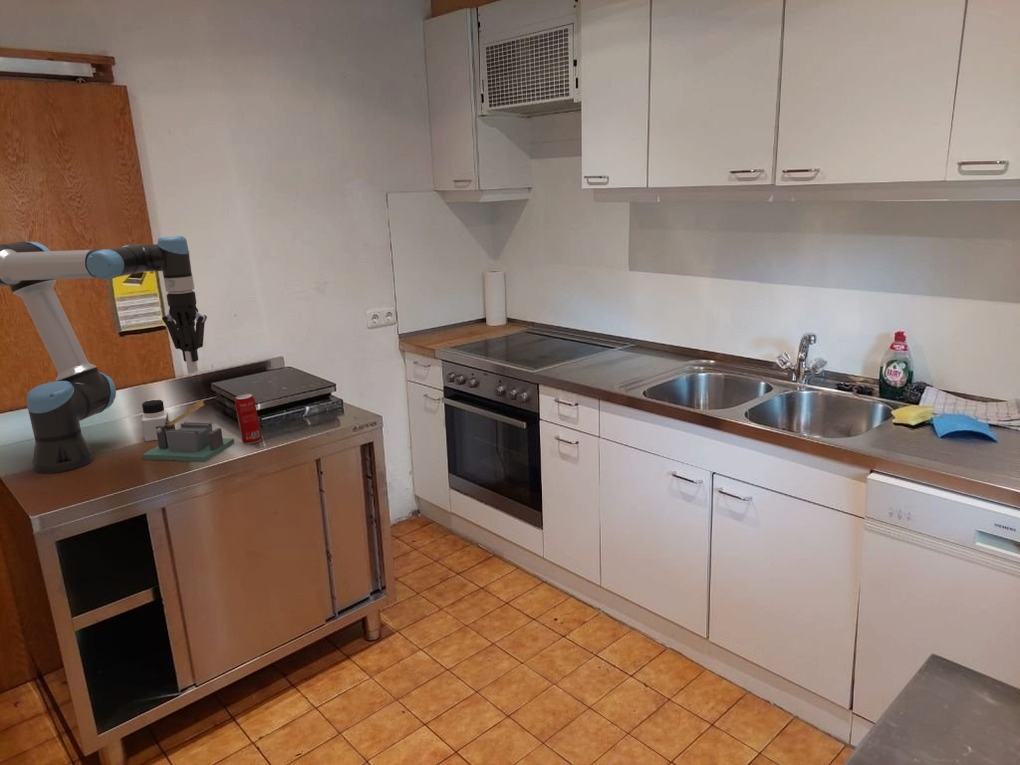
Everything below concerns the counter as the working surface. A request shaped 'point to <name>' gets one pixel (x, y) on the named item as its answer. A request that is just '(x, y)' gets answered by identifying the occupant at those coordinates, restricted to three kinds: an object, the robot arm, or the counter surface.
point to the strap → (186, 413)
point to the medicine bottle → (153, 418)
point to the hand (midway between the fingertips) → (193, 372)
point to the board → (186, 455)
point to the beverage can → (247, 418)
